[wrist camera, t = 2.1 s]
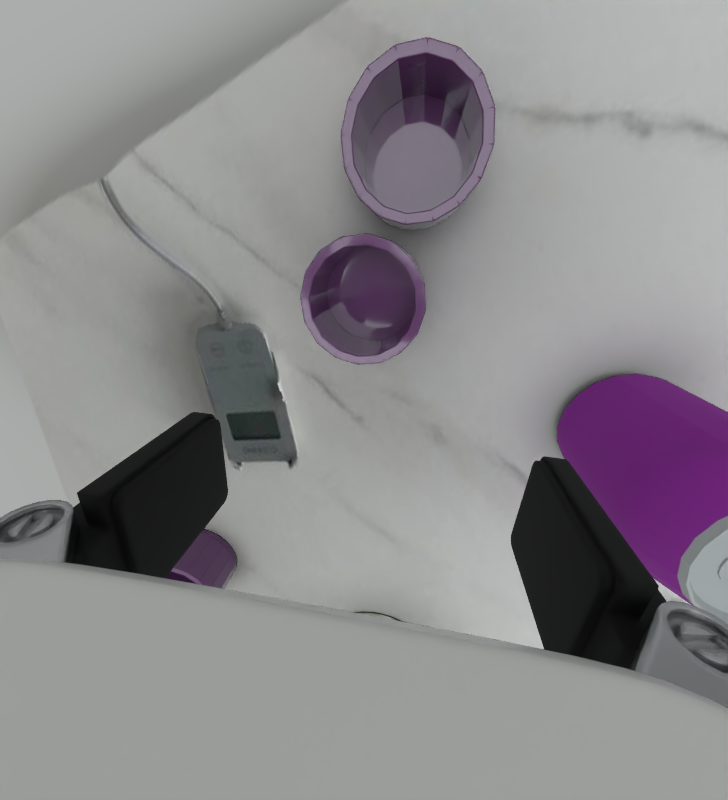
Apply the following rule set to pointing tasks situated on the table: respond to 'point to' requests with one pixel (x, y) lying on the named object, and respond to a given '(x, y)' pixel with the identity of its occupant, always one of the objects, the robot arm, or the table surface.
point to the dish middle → (363, 298)
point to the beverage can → (658, 478)
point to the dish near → (418, 132)
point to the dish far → (206, 562)
